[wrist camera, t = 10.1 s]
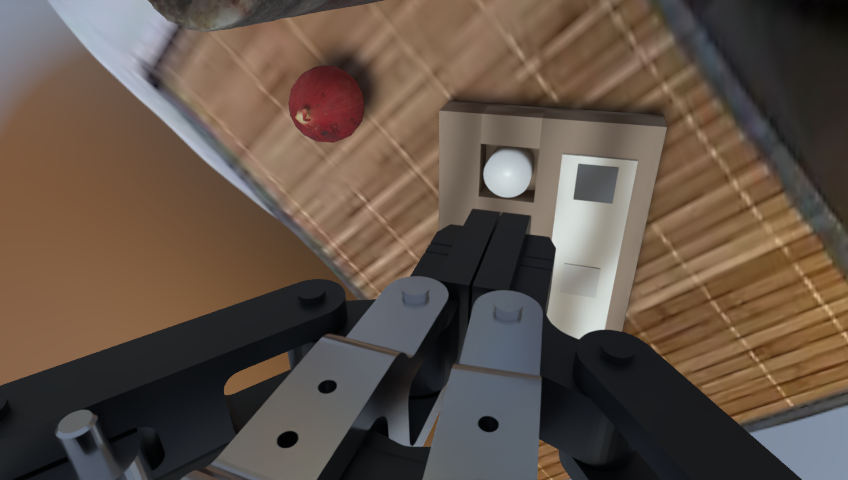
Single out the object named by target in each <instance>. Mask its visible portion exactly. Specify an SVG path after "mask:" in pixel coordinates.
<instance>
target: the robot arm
mask: <svg viewBox="0 0 848 480" xmlns="http://www.w3.org/2000/svg"><path fill="white" fill-rule="evenodd" d="M530 231H531V215H523V214H515V213H507V212H502V214H501V212H498V211H490V210H482V209H472V210H471V212H470V214H469V216H468V218H467V220H466V221H465V223H464V225H463V226H461V225H454V224H450V225H448V226H446V227H445V228H443V229H441V230H440V231H438V232H437V233H436V235H435V236H434V238H433V240H432V241H431V244H430V245H429V246H428V248H427V250H426V252H425V253H424V254H423V256H422V258H421V259H420V261H419V263H418V264H417V266H416V268H415V269H414V271H413V273H412V274H411V276H410V277H405V278H401V279H398V280H396V281H394V282H392V283H390V284H389V285H388V286H387V287H386V288H385V289H384V290H383V292H382V293H381V294H380V295H379V297H378V298H377V299H374V300H356V301H346V296H345V291H344V289H343V288H342V286H341V285H339V284H338V283H336V282H333V281H330V280H324V279H313V280H306V281H302V282H299V283H297V284H293V285H290V286H287V287H284V288H281V289H279V290H276V291H273V292H270V293H267V294H264V295H261V296H259V297H256V298H253V299H250V300H247V301H244V302H241V303H238V304H235V305H232V306H229V307H227V308H224V309H221V310H218V311H215V312H212V313H210V314H206V315H203V316H201V317H198V318H195V319H192V320H189V321H186V322H183V323H180V324H177V325H175V326H172V327H169V328H166V329H163V330H160V331H157V332H154V333H152V334H148V335H146V336H143V337H140V338H137V339H134V340H131V341H128V342H125V343H122V344H120V345H117V346H114V347H111V348H108V349H105V350H102V351H100V352H96V353H93V354H91V355H88V356H85V357H82V358H79V359H76V360H73V361H70V362H68V363H65V364H62V365H59V366H56V367H53V368H50V369H47V370H44V371H41V372H39V373H36V374H33V375H30V376H27V377H24V378H21V379H18V380H16V381H13V382H10V383H7V384H4V385H1V386H0V480H537V469H538V448H539V439H540V440H542V441H544V442H546V443H548V444H550V445H551V446H553V447H555V448H557V449H559V458H560V461H561V464H562V466H563V467H564V469H565V470H566V472H567V473H568V475H569V476H570V478H571V479H572V480H802V479H801V478H799V477H798V476H797V475H796V474H795V473H794V472H793V471H791V470H790V469H789V468H788V467H787V466H786V465H785V464H784V463H782V462H781V461H780V460H779V459H778V458H777V457H776V456H774V455H773V454H772V453H771V452H770V451H769V450H768V449H766V448H765V447H764V446H763V445H762V444H761V443H759V442H758V441H757V440H756V439H755V438H754V437H753V436H751V435H750V434H749V433H748V432H747V431H746V430H745V429H743V428H742V427H741V426H740V425H739V424H738V423H737V422H735V421H734V420H733V419H732V418H731V417H730V416H729V415H727V414H726V413H725V412H724V411H723V410H722V409H721V408H719V407H718V406H717V405H716V404H715V403H714V402H713V401H711V400H710V399H709V398H708V397H707V396H706V395H705V394H703V393H702V392H701V391H700V390H699V389H698V388H697V387H695V386H694V385H693V384H692V383H691V382H690V381H689V380H687V379H686V378H685V377H684V376H683V375H682V374H681V373H679V372H678V371H677V370H676V369H675V368H674V367H673V366H671V365H670V364H669V363H668V362H667V361H666V360H665V359H663V358H662V357H661V356H660V355H659V354H658V353H657V352H655V351H654V350H653V349H652V348H651V347H650V346H649V345H647V344H646V343H645V342H643V341H642V340H640V339H639V338H637V337H635V336H633V335H630V334H627V333H624V332H620V331H616V330H596V331H592V332H589V333H587V334H585V335H583V336H582V337H581V338H580V339H577V338H574V337H572V336H570V335H568V334H566V333H564V332H562V331H560V330H559V329H558V328H556V327H555V326H554V325H553V324H552V323H551V322H550V320H549V319H548V317H547V311H548V305H549V299H550V292H551V284H552V277H553V269H554V261H555V253H556V247H555V246H554V244H553V242H552V241H551V239H550V237H546V236H538V235H530ZM287 351H288V356H289V362H290V368H291V369H290V370H288V371H286V372H284V373H281V374H279V375H277V376H274V377H272V378H270V379H267V380H265V381H263V382H260V383H258V384H256V385H253V386H251V387H249V388H246V389H244V390H242V391H239V392H237V393H235V394H232V395H224V386H225V384H226V382H227V381H228V379H229V378H230V377H231V376H232V375H233V374H235V373H237V372H239V371H241V370H243V369H246V368H248V367H251V366H253V365H256V364H258V363H260V362H263V361H265V360H268V359H270V358H273V357H275V356H277V355H280V354H282V353H285V352H287ZM447 383H448V384H447ZM440 409H441V411H440ZM439 411H440V415H439V419H438V423H437V427H436V430H435V434H434V438H433V442H432V446H431V447H423V444H424V443H425V440H426V438H427V436H428V434H429V432H430V430H431V428H432V426H433V424H434V421H435V420H436V417H437V415H438V413H439Z"/></svg>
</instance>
